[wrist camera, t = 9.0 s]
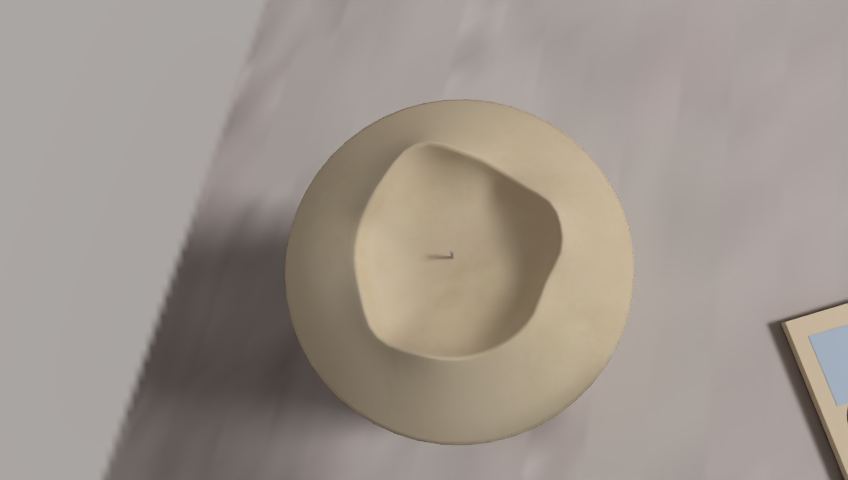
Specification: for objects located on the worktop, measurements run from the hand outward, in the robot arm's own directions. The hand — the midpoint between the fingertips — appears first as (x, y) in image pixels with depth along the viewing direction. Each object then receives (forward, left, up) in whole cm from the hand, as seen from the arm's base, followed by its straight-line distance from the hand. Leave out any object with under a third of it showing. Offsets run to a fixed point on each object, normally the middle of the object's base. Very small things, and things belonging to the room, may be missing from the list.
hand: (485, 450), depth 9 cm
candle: (+3, 0, -11) cm, 11 cm away
